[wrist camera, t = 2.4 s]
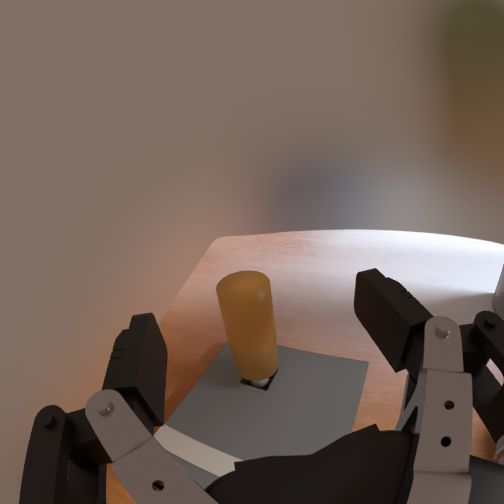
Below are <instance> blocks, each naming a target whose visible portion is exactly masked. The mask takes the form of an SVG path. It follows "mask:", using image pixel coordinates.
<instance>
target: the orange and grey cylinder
mask: <svg viewBox="0 0 504 504" xmlns="http://www.w3.org/2000/svg"><path fill="white" fill-rule="evenodd" d="M216 291H217V296H218V300H219V304H220V308H221V312H222V316H223V320H224V324H225V328H226V332H227V336H228V340H229V344H230V348H231V352H232V356H233V359H234V363H235V367H236V370H237V373H238V374H239V375H240V376H241V377H242V378H244V379H246V380H250V381H251V384H252V387H255V388H258V389H262V390H265V391H267V390H268V388H269V386H270V382H269V377H271V376H272V375H273V374H274V373H275V372H276V371H277V369H278V365H279V362H278V353H277V343H276V334H275V324H274V315H273V306H272V297H271V288H270V280H269V278H268V277H267V276H266V275H265V274H263V273H260V272H257V271H240V272H236V273H232V274H230V275H228V276H226V277H224V278H223V279H222V280H221V281H220V282H219V283H218V284H217V287H216Z"/></svg>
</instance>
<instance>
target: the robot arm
mask: <svg viewBox="0 0 504 504" xmlns="http://www.w3.org/2000/svg"><path fill="white" fill-rule="evenodd" d="M493 307H494V310H495V311H496V313H497V314H498V315H497V314H495V313H493V312H490V311H481V312H479V313H478V314H477V315H476V317H475V319H474V322H473V324H467V325H460V326H458V325H457V324H456V323H455V322H454V321H453V320H451V319H449V318H446V317H440V316H438V317H434V316H433V315H432V314H431V313H430V312H429V311H428V310H427V309H426V308H425V307H424V306H423V305H422V304H421V303H420V302H419V301H418V300H417V299H416V298H415V297H413V295H412V294H411V293H410V292H408V291H407V290H406V289H405V288H404V287H403V286H402V285H401V284H400V283H399V282H397V281H395V280H393V279H391V278H389V277H388V278H386V277H385V276H384V275H383V274H382V273H381V272H379V271H378V270H377V269H376V268H374V269H370V270H366V271H362V272H358V273H357V276H356V285H355V297H354V310H355V314H356V316H357V318H358V319H359V321H360V322H361V324H362V325H363V326H364V328H365V329H366V331H367V332H368V333H369V335H370V336H371V338H372V339H373V341H374V342H375V343H376V345H377V346H378V348H379V349H380V351H381V352H382V354H383V355H384V356H385V358H386V359H387V361H388V362H389V364H390V365H391V367H392V368H393V370H394V371H395V373H397V372H399V371H401V370H404V369H407V371H408V375H407V378H406V385H405V391H404V397H403V403H402V408H401V413H400V417H399V420H398V423H397V425H396V428H395V430H385V431H379V429H378V427H377V425H376V424H373V425H371V426H368V427H366V428H363V429H361V430H358V431H355V432H352V433H350V434H347V435H344V436H342V437H341V438H339V439H337V440H336V441H334V442H332V443H331V444H329V445H327V446H326V447H324V448H322V449H320V450H318V451H317V452H315V453H313V454H310V455H291V456H266V457H261V458H256V459H250V460H244V461H238V462H234V467H235V470H234V471H232V472H229V473H227V474H225V475H223V476H221V477H219V478H218V479H216V480H215V481H213V482H212V483H211V484H210V485H208V486H207V487H206V488H205V489H204V488H203V487H202V486H200V485H199V484H198V483H197V482H196V481H195V480H194V479H193V478H192V477H191V476H190V475H189V474H188V473H187V472H186V471H185V470H184V469H183V468H182V467H181V466H180V465H179V464H178V463H177V462H176V461H175V460H174V459H173V458H172V457H171V455H170V454H169V453H168V452H167V451H166V450H165V449H164V448H163V447H162V445H161V444H160V443H159V442H158V441H157V440H156V439H155V437H154V436H153V427H154V426H164V403H165V385H166V370H167V348H166V344H165V341H164V339H163V336H162V334H161V332H160V329H159V327H158V324H157V322H156V319H155V317H154V315H153V314H152V313H145V314H139V315H133V316H132V319H131V322H130V326H129V329H126V330H122V332H121V333H120V334H119V336H118V337H117V338H116V340H115V343H114V346H113V352H112V353H111V357H110V359H111V360H109V364H108V368H107V372H106V376H105V379H104V383H103V387H102V390H101V391H99V392H97V393H95V394H94V395H93V396H91V397H90V399H89V400H88V402H87V404H86V407H85V408H84V409H81V410H77V411H74V412H70V413H67V414H66V413H65V412H64V411H63V410H62V409H61V408H60V407H58V406H56V405H50V406H47V407H44V408H43V409H41V410H40V412H38V414H37V416H36V417H35V420H34V425H33V428H32V432H31V436H30V441H29V445H28V449H27V454H26V459H25V464H24V471H23V477H22V484H21V491H20V501H19V504H106V469H107V463H110V465H111V468H112V469H113V471H114V473H115V474H116V476H117V477H118V479H119V480H120V482H121V483H122V484H123V486H124V487H125V489H126V490H127V491H128V493H129V494H130V495H131V497H132V498H133V499H134V501H135V502H136V503H137V504H504V383H503V386H501V385H500V383H499V382H498V381H497V379H496V378H495V377H494V375H493V374H492V373H491V371H490V370H489V369H488V367H487V366H486V365H487V363H488V361H489V359H490V358H491V360H492V361H493V362H494V363H495V365H496V366H497V367H498V368H499V370H500V371H501V372H502V374H503V377H504V265H503V268H502V272H501V275H500V278H499V281H498V284H497V287H496V290H495V297H494V300H493ZM472 405H473V407H474V408H475V410H476V412H477V413H478V415H479V416H480V418H481V420H482V421H483V423H484V425H485V426H486V428H487V430H488V431H489V433H490V435H491V436H492V438H493V440H494V442H495V443H496V453H495V454H494V456H493V461H494V462H492V461H488V460H485V459H481V458H478V457H475V456H472V455H470V448H471V436H472ZM111 462H112V463H111ZM68 466H69V469H68ZM67 476H68V479H67Z"/></svg>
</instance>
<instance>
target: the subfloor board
mask: <svg viewBox="0 0 504 504" xmlns="http://www.w3.org/2000/svg"><path fill="white" fill-rule="evenodd" d="M277 353H278V362H279V365H278V369H277V371H276V372H275V373H274V374H273V375H272V376H271V377H272V378H274V379H273V381H272V382H271V384H270V386H269V388H268V390H267V391H265V390H262V389H258V388H255V387H252V386H248V385H247V384H248V383H249V381H250V380H246V379H244V378H242V377H241V376H240V375H239V374H238V373H237V370H236V367H235V363H234V359H233V356H232V352H231V348H230V344H229V340H228V341H227V343H226V344H225V345H224V347H223V348H222V349H221V351H220V352H219V353H218V355H217V356H216V357H215V359H214V360H213V361H212V363H211V364H210V365H209V367H208V368H207V369H206V371H205V372H204V373H203V375H202V376H201V377H200V379H199V380H198V381H197V382H196V384H195V385H194V386H193V388H192V389H191V390H190V392H189V393H188V394H187V395H186V397H185V398H184V399H183V401H182V402H181V403H180V404H179V406H178V407H177V408H176V409H175V411H174V412H173V413H172V415H171V416H170V417H169V418H168V420H167V421H166V422H165V423H164V426H161V427H160V428H159V429H158V431H157V432H156V433H155V434H154V437H155V439H156V440H157V441H158V442H159V443H160V444H161V445H162V447H163V448H164V449H165V450H166V451H167V452H168V453H169V454H170V455H171V457H172V458H173V459H174V460H175V461H176V462H177V463H178V464H179V465H180V466H181V467H182V468H183V469H184V470H185V471H186V472H187V473H188V474H189V475H190V476H191V477H192V478H193V479H194V480H195V481H196V482H197V483H198V484H199V485H200V486H202V487H203V488H204V489H205V488H206V487H207V486H208V485H210V484H211V483H212V482H213V481H215V480H216V479H218V478H219V477H221V476H223V475H225V474H227V473H229V472H232V471H234V470H235V467H234V462H238V461H244V460H250V459H256V458H261V457H266V456H291V455H310V454H313V453H315V452H317V451H318V450H320V449H322V448H324V447H326V446H327V445H329V444H331V443H332V442H334V441H336V440H337V439H339V438H341V437H342V436H344V435H347V434H350V433H351V430H352V426H353V423H354V420H355V416H356V413H357V409H358V405H359V401H360V397H361V394H362V389H363V385H364V381H365V377H366V372H367V368H368V363H369V362H366V361H359V360H353V359H346V358H340V357H335V356H329V355H323V354H318V353H313V352H307V351H302V350H297V349H293V348H288V347H283V346H279V345H277Z"/></svg>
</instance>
